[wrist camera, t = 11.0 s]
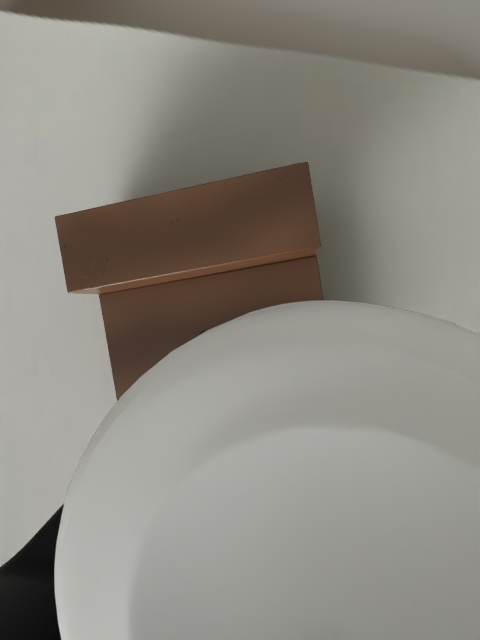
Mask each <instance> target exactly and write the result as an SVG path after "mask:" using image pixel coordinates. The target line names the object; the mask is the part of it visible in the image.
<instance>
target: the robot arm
mask: <svg viewBox="0 0 480 640" xmlns="http://www.w3.org/2000/svg"><path fill="white" fill-rule="evenodd" d="M207 330H210V329H205V330H202V331H201V332H200V333H199V334H198V336H199V335H201V334H202V333H204V332H206V331H207ZM63 506H64V504H63V505H62V506H61V507H60V508H59V509H58V510H57V512H56V513H55V514H54V515H53V516H52V517H51V518H50V519H49V520H48V521H47V522H46V524H45V525H44V526H43V527H42V528H41V529H40V530H39V531H38V532H37V533H36V534H35V535H34V537H33V538H32V539H31V540H30V541H29V542H28V543H27V544H26V545H25V546H24V547H23V548H22V549H21V550H20V551H19V552H18V553H17V554H16V555H15V556H13V557H12V558H11V559H10V560H9V561H7V562H6V563H5V564H4V565H3V566H1V567H0V640H61V635H60V630H59V625H58V618H57V609H56V599H55V585H54V566H55V553H56V542H57V537H58V532H59V526H60V521H61V516H62V511H63Z"/></svg>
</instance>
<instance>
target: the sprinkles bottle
mask: <svg viewBox="0 0 480 640" xmlns="http://www.w3.org/2000/svg"><path fill="white" fill-rule="evenodd" d="M54 585H55V599H56V609H57V618H58V625H59V630H60V635H61V640H480V335H479V334H477V333H474V332H472V331H470V330H467V329H465V328H463V327H460V326H458V325H456V324H454V323H451V322H448V321H445V320H441V319H438V318H435V317H431V316H428V315H424V314H420V313H416V312H411V311H407V310H402V309H398V308H393V307H388V306H382V305H375V304H369V303H362V302H348V301H303V302H294V303H286V304H281V305H276V306H271V307H267V308H264V309H260V310H256V311H253V312H250V313H247V314H245V315H243V316H240V317H238V318H235V319H233V320H231V321H228V322H226V323H224V324H221V325H219V326H216V327H214V328H212V329H210V330H207V331H206V332H204V333H202V334H201V335H199V336H197V337H195V338H194V339H192V340H190V341H189V342H187V343H185V344H184V345H182V346H180V347H178V348H177V349H175V350H173V351H172V352H170V353H169V354H168V355H167V356H166V357H164V358H163V359H162V360H161V361H159V362H158V363H157V364H156V365H155V366H153V367H152V368H151V369H150V370H148V371H147V372H146V373H145V374H143V375H142V376H141V377H140V378H139V379H138V380H137V381H136V382H135V383H134V384H133V385H132V386H131V387H130V388H129V389H128V390H127V391H126V392H125V393H124V394H123V395H122V396H121V397H120V399H119V400H118V401H117V402H116V404H115V405H114V406H113V408H112V409H111V410H110V411H109V413H108V414H107V415H106V417H105V418H104V420H103V421H102V423H101V424H100V426H99V428H98V429H97V431H96V432H95V434H94V435H93V437H92V439H91V440H90V442H89V444H88V446H87V448H86V450H85V451H84V453H83V455H82V457H81V459H80V461H79V464H78V466H77V468H76V471H75V473H74V475H73V478H72V480H71V482H70V485H69V487H68V490H67V494H66V497H65V502H64V506H63V511H62V516H61V521H60V526H59V532H58V537H57V542H56V553H55V566H54Z"/></svg>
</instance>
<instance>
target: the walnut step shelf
mask: <svg viewBox="0 0 480 640" xmlns="http://www.w3.org/2000/svg"><path fill="white" fill-rule="evenodd" d="M55 222H56V228H57V233H58V239H59V245H60V251H61V256H62V262H63V268H64V273H65V279H66V285H67V291H68V293H81V294H100V295H99V298H100V303H101V309H102V315H103V321H104V327H105V332H106V338H107V344H108V350H109V356H110V361H111V367H112V373H113V379H114V385H115V390H116V396H117V401H118V400H119V399H120V397H121V396H122V395H123V394H124V393H125V392H126V391H127V390H128V389H129V388H130V387H131V386H132V385H133V384H134V383H135V382H136V381H137V380H138V379H139V378H140V377H141V376H142V375H143V374H145V373H146V372H147V371H148V370H150V369H151V368H152V367H153V366H155V365H156V364H157V363H158V362H159V361H161V360H162V359H163V358H164V357H166V356H167V355H168V354H169V353H170V352H172V351H173V350H175V349H177V348H178V347H180V346H182V345H184V344H185V343H187V342H189V341H190V340H192V339H194V338H195V337H197V336H198V334H199V333H200V332H201V331H202V330H205V329H212V328H214V327H216V326H219V325H221V324H224V323H226V322H228V321H231V320H233V319H235V318H238V317H240V316H243V315H245V314H247V313H250V312H253V311H256V310H260V309H264V308H267V307H271V306H276V305H281V304H286V303H294V302H303V301H323V295H322V288H321V282H320V275H319V269H318V262H317V257H316V254H317V253H318V251H319V249H320V247H321V243H320V236H319V230H318V223H317V217H316V210H315V204H314V197H313V191H312V184H311V178H310V171H309V165H308V162H302V163H298V164H293V165H289V166H284V167H280V168H275V169H270V170H266V171H261V172H257V173H252V174H247V175H243V176H238V177H234V178H229V179H225V180H220V181H215V182H211V183H206V184H202V185H197V186H193V187H188V188H183V189H179V190H174V191H170V192H165V193H161V194H156V195H151V196H147V197H142V198H138V199H133V200H128V201H124V202H119V203H115V204H110V205H106V206H101V207H96V208H92V209H87V210H83V211H78V212H74V213H69V214H64V215H60V216H55Z"/></svg>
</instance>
